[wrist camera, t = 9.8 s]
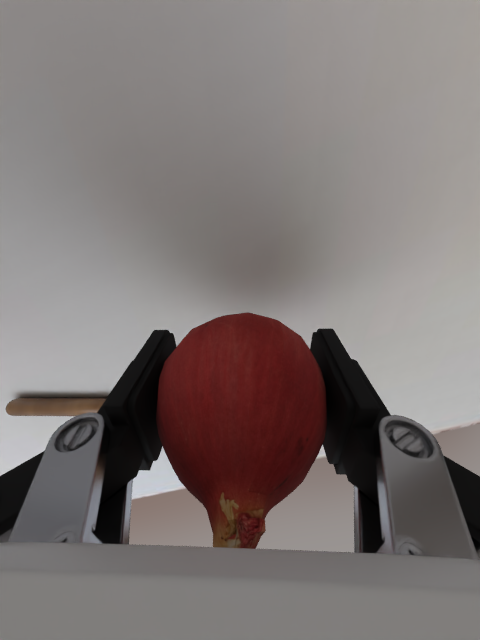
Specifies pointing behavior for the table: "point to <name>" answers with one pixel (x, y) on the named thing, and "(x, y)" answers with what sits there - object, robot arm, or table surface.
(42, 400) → the spoon
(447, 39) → the table surface
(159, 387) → the onion
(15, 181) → the table surface
